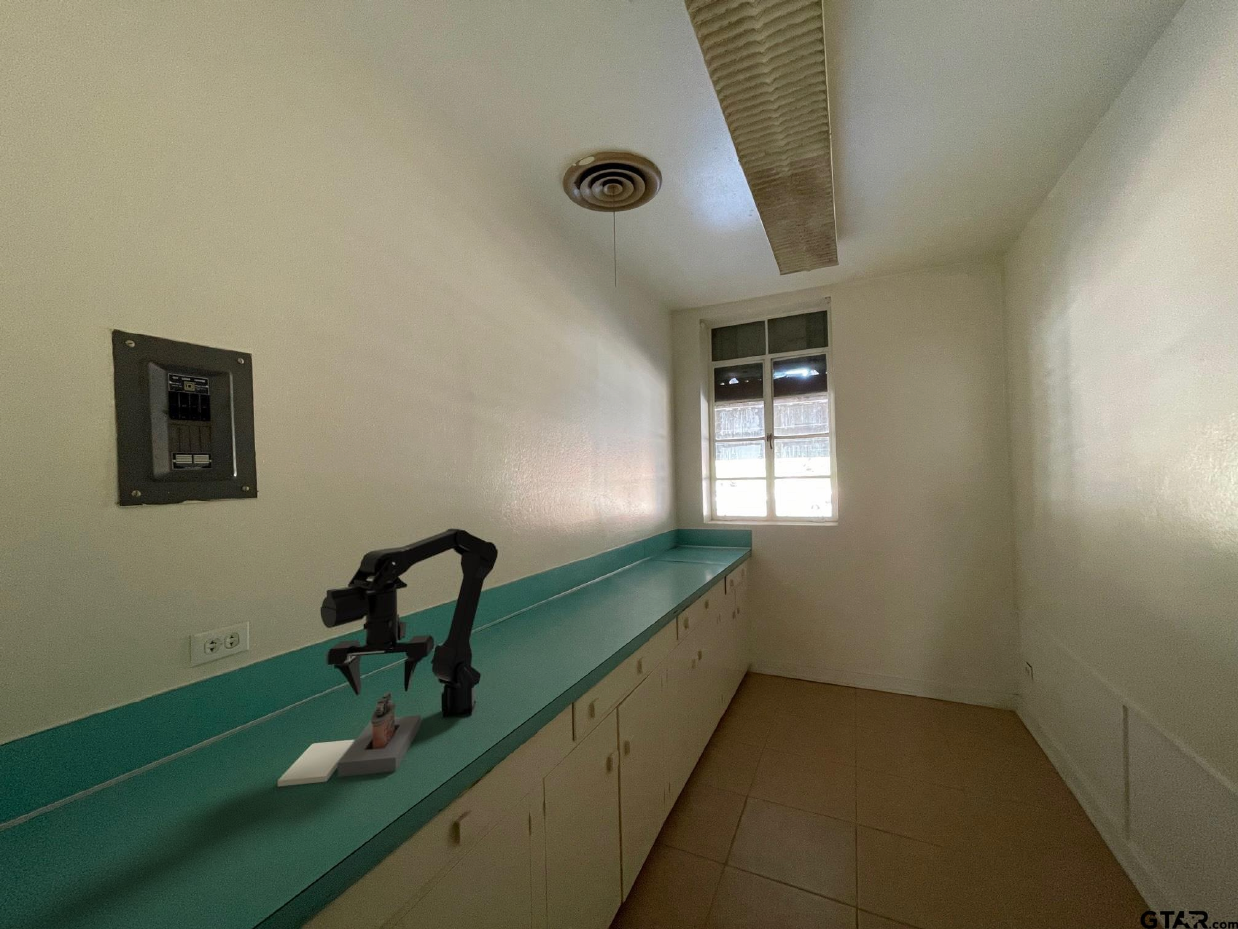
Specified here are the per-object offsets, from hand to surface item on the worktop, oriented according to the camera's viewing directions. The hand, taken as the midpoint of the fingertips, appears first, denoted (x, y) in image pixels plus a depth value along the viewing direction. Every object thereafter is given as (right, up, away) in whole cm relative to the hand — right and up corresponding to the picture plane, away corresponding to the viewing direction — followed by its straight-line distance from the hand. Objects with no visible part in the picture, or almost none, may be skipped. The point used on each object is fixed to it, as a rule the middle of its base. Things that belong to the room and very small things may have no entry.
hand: (382, 692), depth 95 cm
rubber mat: (-10, -11, -5) cm, 16 cm away
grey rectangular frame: (0, -11, -1) cm, 11 cm away
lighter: (0, -11, 0) cm, 11 cm away
